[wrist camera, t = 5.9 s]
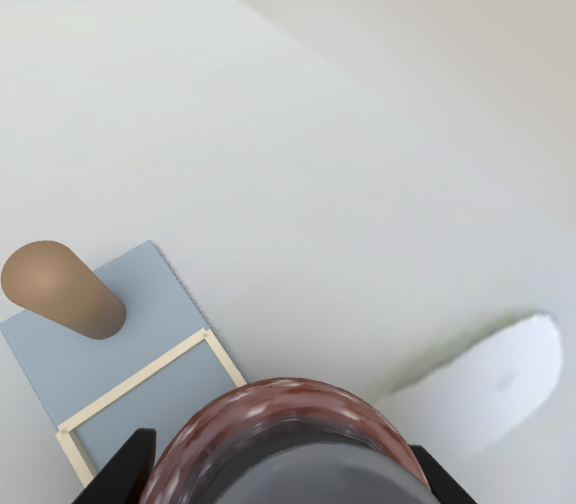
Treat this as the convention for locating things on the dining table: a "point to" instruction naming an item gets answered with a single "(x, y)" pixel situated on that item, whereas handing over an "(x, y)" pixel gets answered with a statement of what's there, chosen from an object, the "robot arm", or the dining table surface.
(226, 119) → the dining table surface
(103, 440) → the board
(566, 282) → the dining table surface
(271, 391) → the supplement bottle
